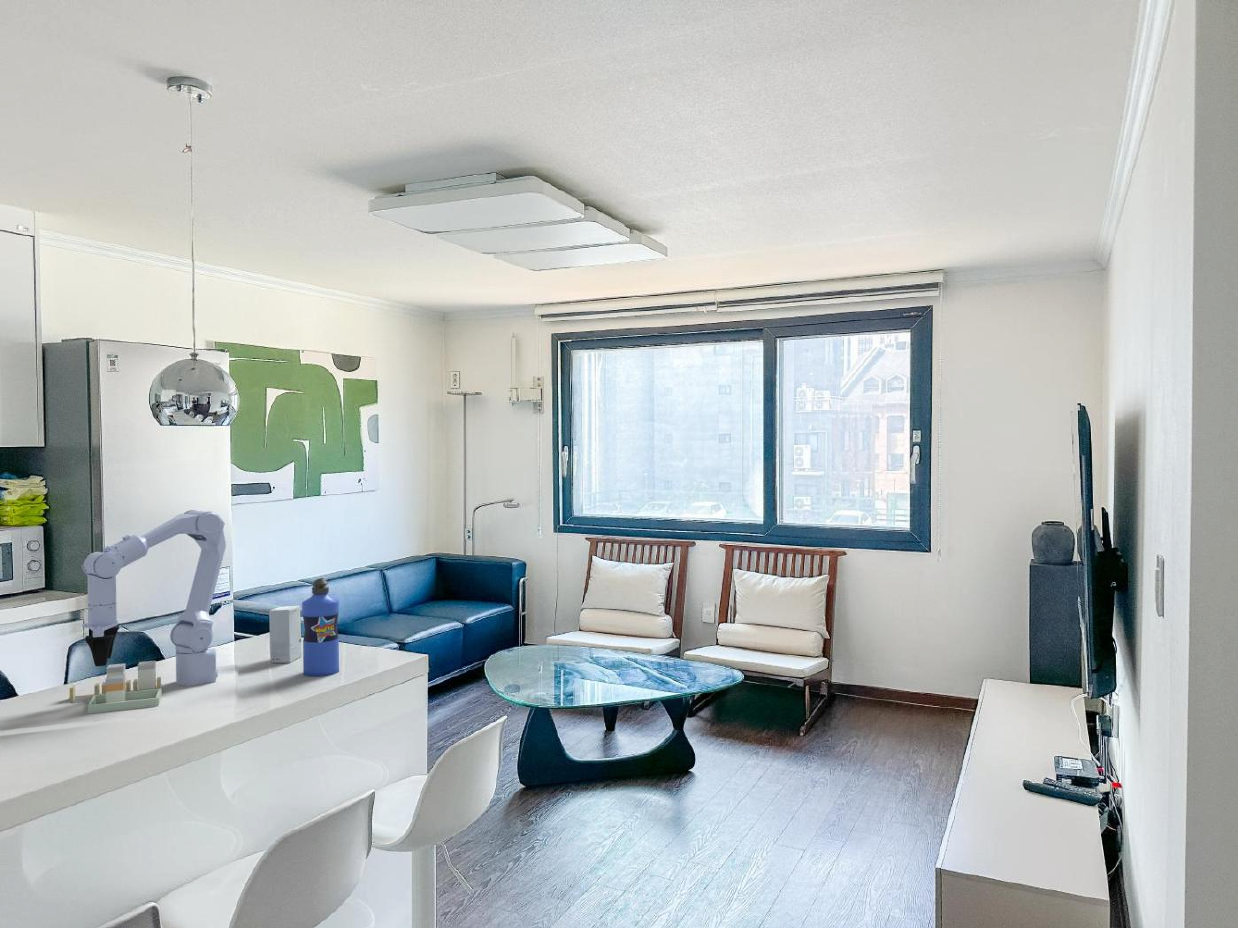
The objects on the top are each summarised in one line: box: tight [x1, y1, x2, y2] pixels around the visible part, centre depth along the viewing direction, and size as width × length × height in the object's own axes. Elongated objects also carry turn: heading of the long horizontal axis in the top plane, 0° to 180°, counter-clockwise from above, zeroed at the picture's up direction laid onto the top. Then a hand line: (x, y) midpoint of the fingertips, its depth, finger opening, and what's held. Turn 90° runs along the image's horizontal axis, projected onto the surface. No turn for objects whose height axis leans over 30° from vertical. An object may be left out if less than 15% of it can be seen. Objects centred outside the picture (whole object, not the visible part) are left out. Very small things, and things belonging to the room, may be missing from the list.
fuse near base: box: [137, 660, 157, 691], centre depth 211 cm, size 4×4×7 cm
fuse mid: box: [105, 663, 127, 692], centre depth 209 cm, size 4×4×7 cm
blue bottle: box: [301, 577, 340, 678], centre depth 233 cm, size 9×9×25 cm
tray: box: [87, 688, 163, 714], centre depth 201 cm, size 14×9×3 cm, turn 113°
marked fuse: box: [104, 673, 126, 703], centre depth 200 cm, size 4×4×7 cm
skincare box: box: [268, 605, 303, 664], centre depth 247 cm, size 8×6×15 cm
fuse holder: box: [64, 676, 165, 705], centre depth 209 cm, size 20×6×4 cm, turn 113°
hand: (103, 662), depth 203 cm, fingers open, 7 cm apart
